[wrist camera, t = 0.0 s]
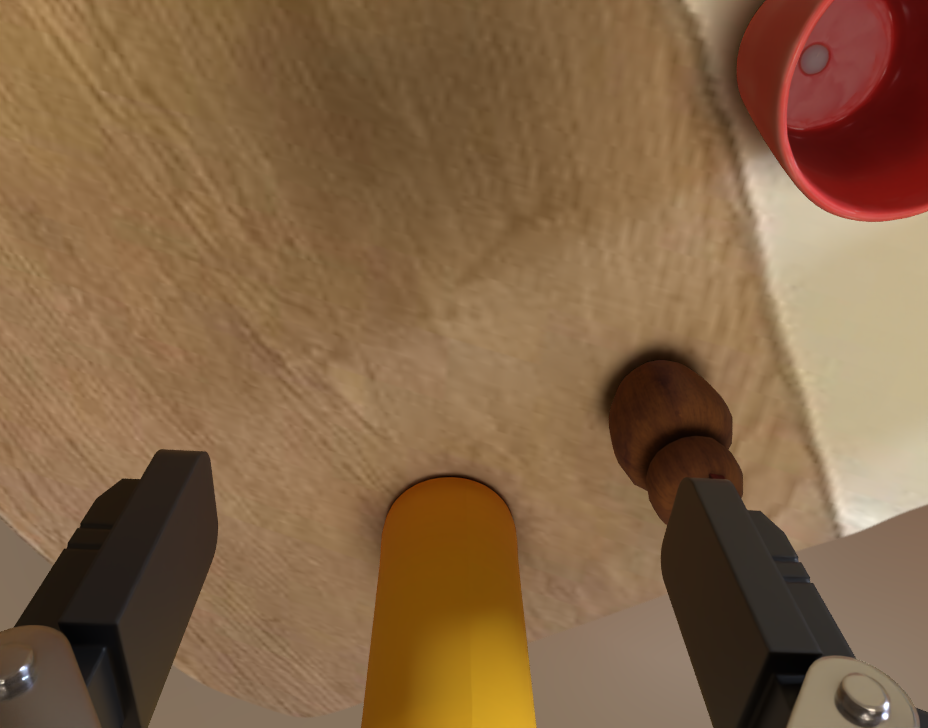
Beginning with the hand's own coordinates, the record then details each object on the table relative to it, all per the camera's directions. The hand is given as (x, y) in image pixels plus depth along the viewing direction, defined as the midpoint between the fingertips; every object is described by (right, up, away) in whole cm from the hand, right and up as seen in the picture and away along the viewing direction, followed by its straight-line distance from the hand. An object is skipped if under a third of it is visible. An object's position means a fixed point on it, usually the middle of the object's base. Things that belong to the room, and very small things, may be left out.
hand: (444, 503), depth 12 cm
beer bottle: (-1, -9, +39) cm, 40 cm away
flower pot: (+18, +18, +24) cm, 35 cm away
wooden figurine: (+12, +1, +34) cm, 36 cm away
